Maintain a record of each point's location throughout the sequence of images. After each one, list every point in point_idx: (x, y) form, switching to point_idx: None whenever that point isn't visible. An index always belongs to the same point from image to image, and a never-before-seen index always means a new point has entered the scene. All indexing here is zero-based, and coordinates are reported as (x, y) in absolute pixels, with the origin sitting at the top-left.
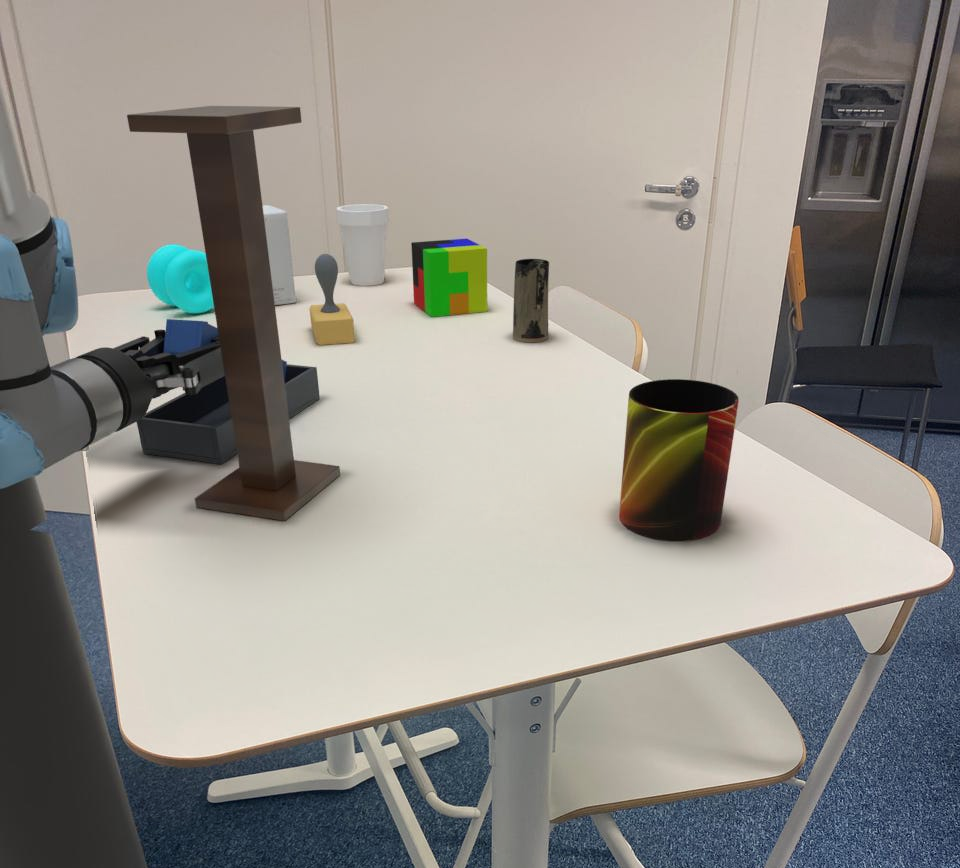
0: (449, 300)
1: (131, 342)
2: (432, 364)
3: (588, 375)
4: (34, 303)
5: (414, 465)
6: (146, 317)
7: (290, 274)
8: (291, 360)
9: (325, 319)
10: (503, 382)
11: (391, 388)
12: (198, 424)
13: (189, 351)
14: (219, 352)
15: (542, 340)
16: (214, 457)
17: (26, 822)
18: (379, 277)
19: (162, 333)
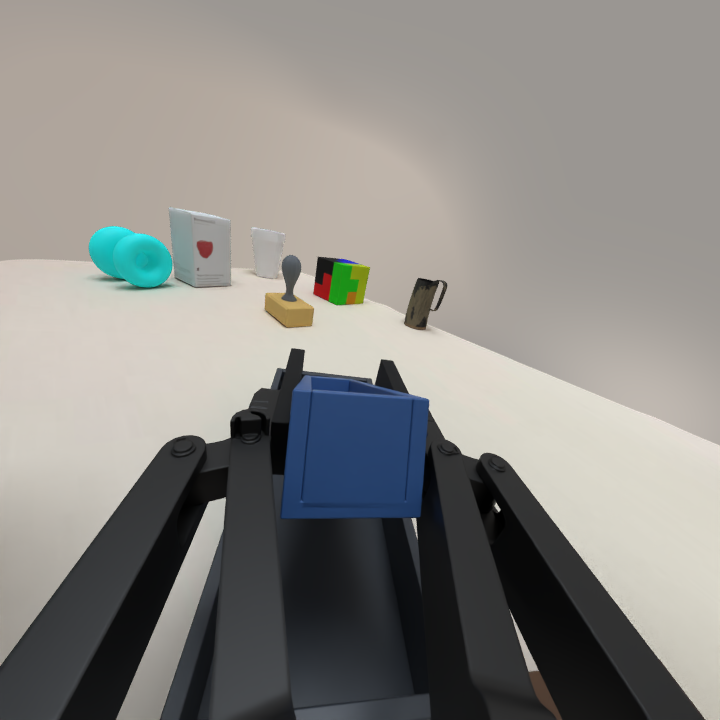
0: (347, 295)
1: (139, 503)
2: (394, 350)
3: (496, 361)
4: None
5: (644, 565)
6: (88, 286)
7: (228, 265)
8: (278, 346)
9: (294, 307)
10: (466, 371)
11: (405, 383)
12: (400, 701)
13: (465, 554)
14: (557, 532)
15: (425, 328)
16: None
17: None
18: (276, 274)
19: (259, 425)
